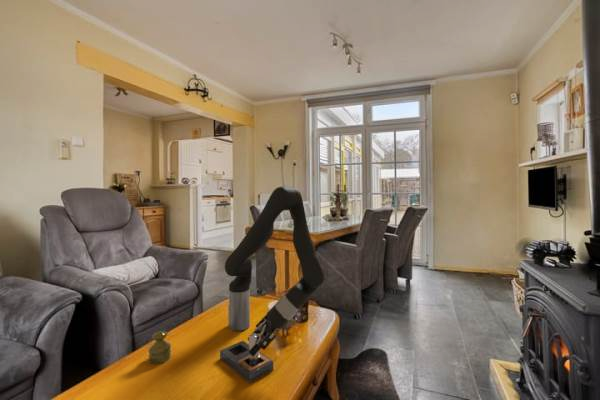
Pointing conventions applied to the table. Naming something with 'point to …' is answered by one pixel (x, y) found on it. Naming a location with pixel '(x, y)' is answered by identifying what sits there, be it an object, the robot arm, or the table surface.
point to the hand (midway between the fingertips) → (250, 347)
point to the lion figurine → (288, 327)
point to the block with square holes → (245, 361)
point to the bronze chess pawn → (159, 349)
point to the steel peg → (252, 341)
